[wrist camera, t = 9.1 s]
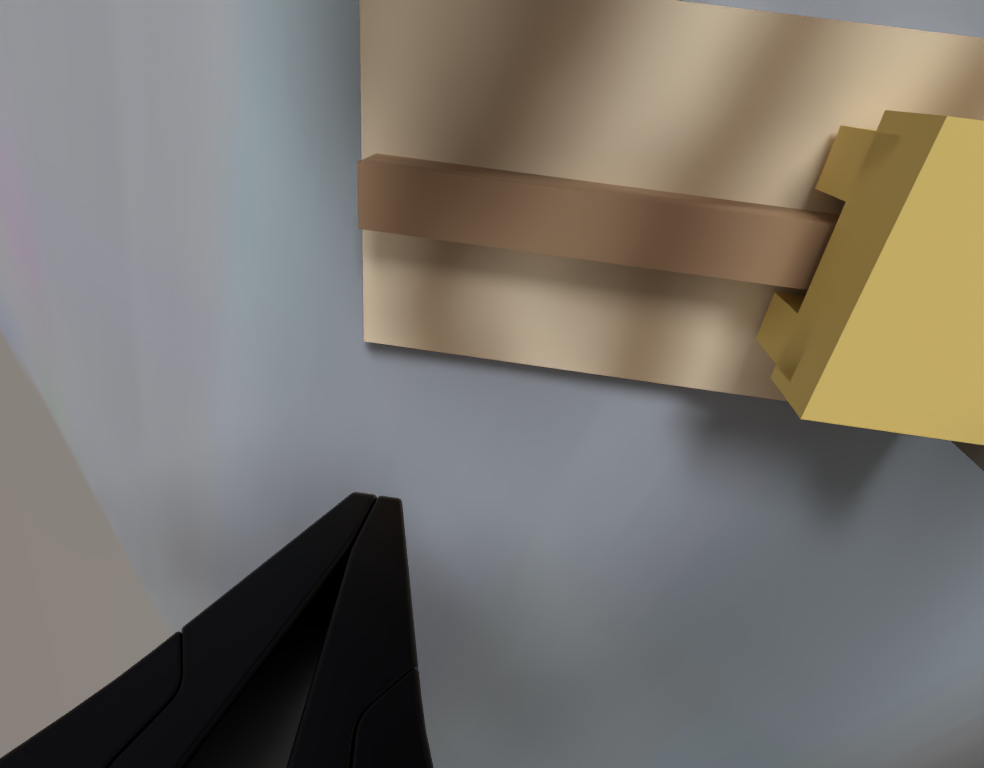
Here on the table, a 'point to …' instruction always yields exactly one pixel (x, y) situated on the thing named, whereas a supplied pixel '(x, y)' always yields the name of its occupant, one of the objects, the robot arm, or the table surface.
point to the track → (617, 174)
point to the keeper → (893, 286)
